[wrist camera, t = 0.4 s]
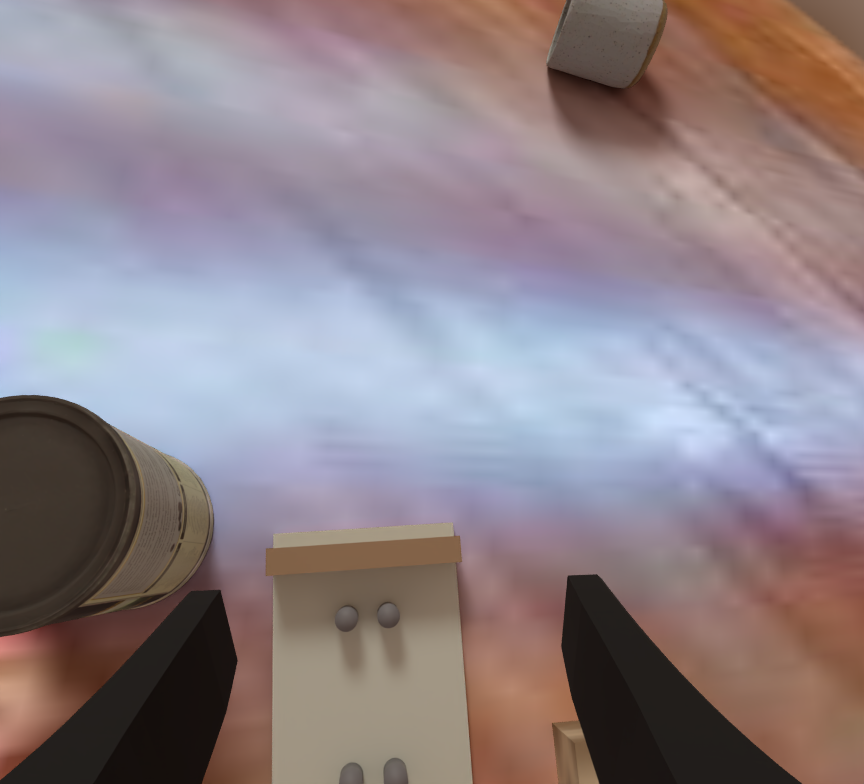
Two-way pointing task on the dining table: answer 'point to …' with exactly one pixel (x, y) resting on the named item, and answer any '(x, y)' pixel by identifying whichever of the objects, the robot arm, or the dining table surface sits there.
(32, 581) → the coffee can
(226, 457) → the dining table surface
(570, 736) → the tan wooden block
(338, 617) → the peg plate
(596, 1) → the ceramic mug
